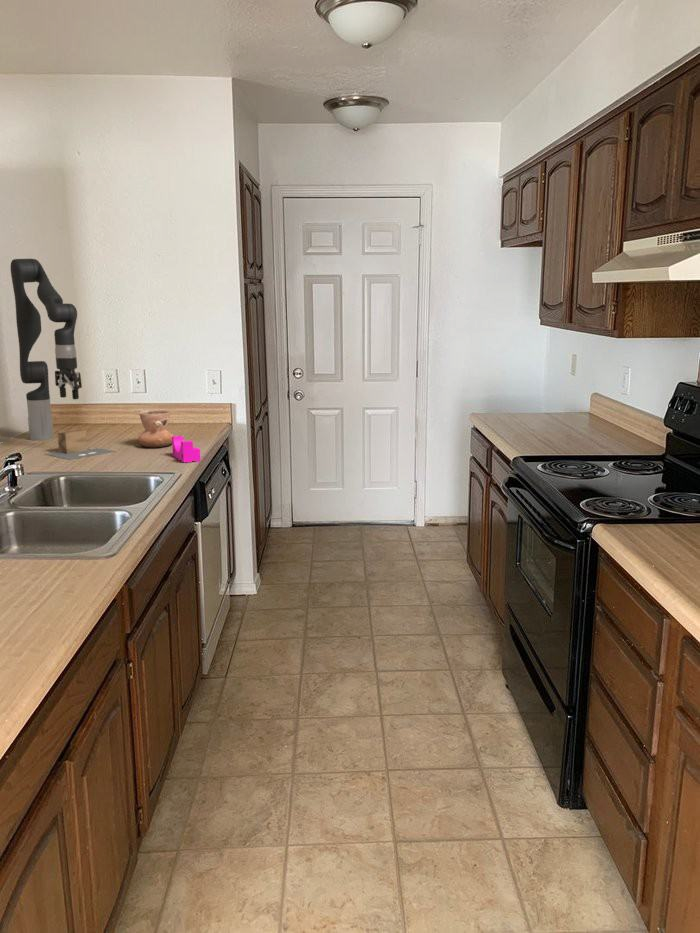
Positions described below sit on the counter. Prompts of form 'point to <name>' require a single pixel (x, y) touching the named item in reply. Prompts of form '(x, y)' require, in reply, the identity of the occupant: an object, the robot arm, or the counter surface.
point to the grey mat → (80, 453)
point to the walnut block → (72, 441)
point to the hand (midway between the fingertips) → (69, 398)
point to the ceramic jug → (155, 429)
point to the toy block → (184, 450)
